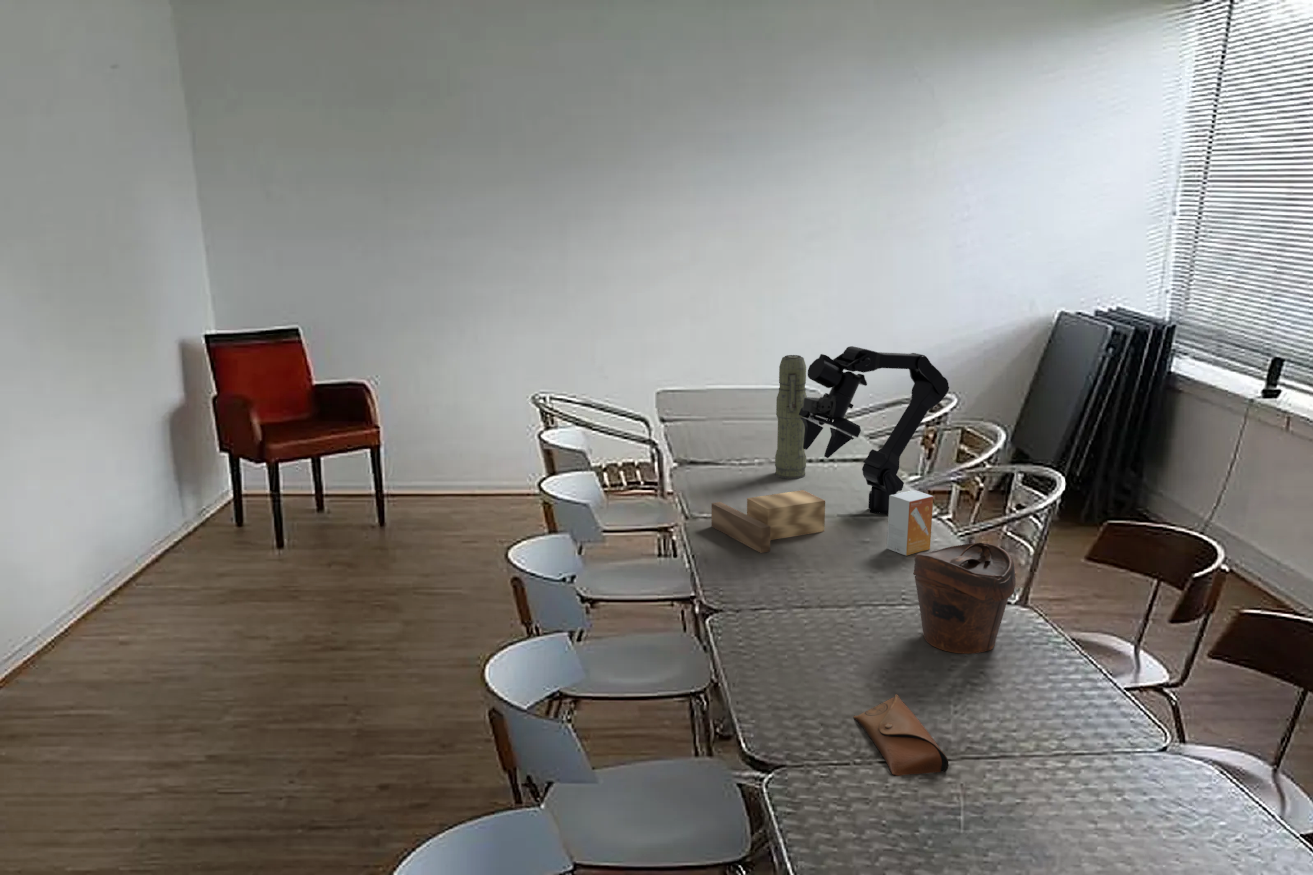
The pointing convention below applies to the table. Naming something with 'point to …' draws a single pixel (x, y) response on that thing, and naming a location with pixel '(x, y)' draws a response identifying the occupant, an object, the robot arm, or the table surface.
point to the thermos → (791, 418)
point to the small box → (909, 522)
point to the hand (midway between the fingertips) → (815, 453)
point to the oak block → (789, 513)
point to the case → (963, 595)
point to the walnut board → (741, 527)
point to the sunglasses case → (902, 739)
